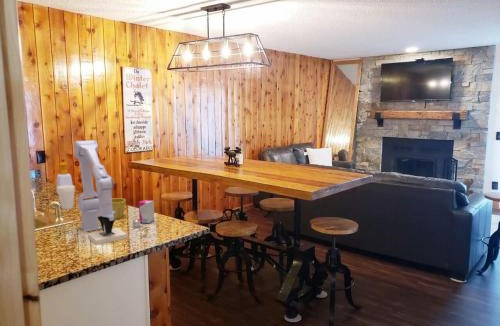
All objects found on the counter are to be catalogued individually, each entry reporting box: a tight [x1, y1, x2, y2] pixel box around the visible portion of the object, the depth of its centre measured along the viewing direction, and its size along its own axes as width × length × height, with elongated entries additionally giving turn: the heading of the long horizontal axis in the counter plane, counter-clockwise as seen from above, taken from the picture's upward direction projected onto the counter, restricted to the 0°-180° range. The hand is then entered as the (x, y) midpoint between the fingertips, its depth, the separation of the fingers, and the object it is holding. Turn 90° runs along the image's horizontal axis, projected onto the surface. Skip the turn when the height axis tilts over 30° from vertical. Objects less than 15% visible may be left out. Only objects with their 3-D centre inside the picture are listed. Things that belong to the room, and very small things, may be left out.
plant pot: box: [112, 197, 126, 220], centre depth 210 cm, size 10×10×10 cm
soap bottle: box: [55, 161, 73, 195], centre depth 266 cm, size 10×14×22 cm
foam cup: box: [56, 185, 76, 210], centre depth 229 cm, size 10×9×13 cm
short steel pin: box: [132, 218, 141, 229], centre depth 194 cm, size 4×4×4 cm
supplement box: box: [138, 199, 155, 225], centre depth 202 cm, size 6×6×12 cm
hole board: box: [87, 227, 128, 245], centre depth 178 cm, size 12×14×2 cm
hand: (107, 232), depth 178 cm, fingers closed on long steel pin, 3 cm apart
